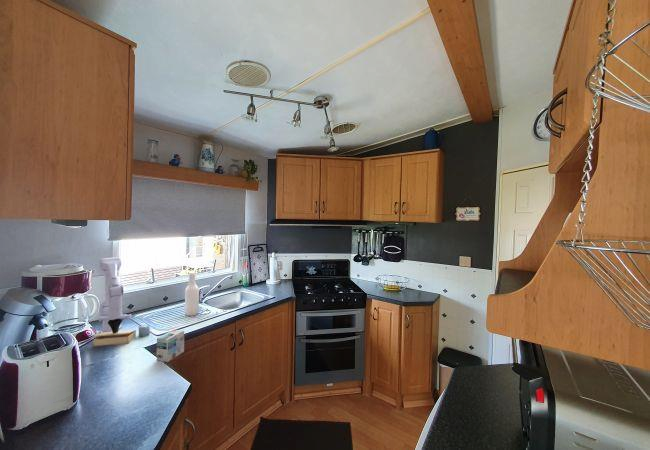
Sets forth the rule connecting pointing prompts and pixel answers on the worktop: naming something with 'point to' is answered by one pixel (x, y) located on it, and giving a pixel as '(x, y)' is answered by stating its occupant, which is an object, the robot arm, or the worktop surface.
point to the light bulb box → (170, 345)
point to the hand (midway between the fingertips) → (115, 332)
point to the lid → (114, 333)
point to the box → (114, 339)
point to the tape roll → (144, 330)
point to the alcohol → (191, 296)
